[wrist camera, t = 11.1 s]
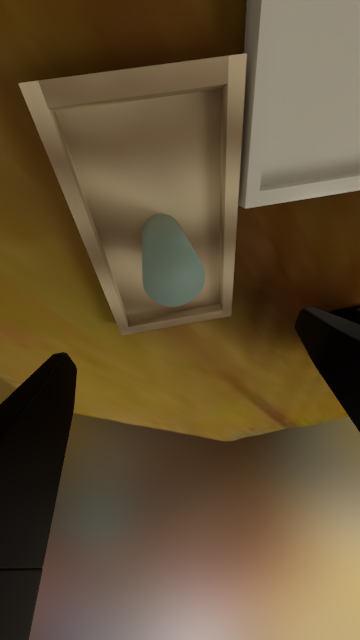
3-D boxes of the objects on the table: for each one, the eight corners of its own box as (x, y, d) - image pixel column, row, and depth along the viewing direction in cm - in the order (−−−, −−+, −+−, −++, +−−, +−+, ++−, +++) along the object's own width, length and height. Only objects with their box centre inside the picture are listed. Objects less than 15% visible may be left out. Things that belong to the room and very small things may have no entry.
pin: (179, 210, 16) (203, 243, 10) (184, 252, 18) (206, 300, 12) (137, 217, 16) (135, 255, 10) (146, 259, 18) (149, 311, 12)
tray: (32, 91, 12) (18, 83, 10) (235, 64, 12) (246, 53, 11) (122, 324, 23) (121, 335, 22) (226, 306, 24) (231, 315, 22)
